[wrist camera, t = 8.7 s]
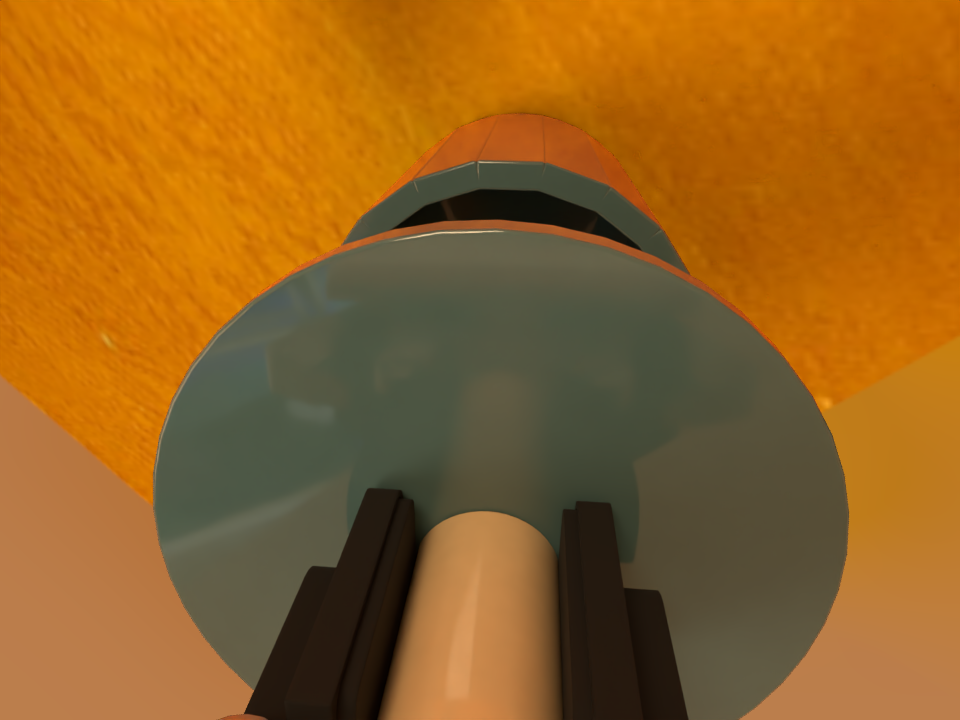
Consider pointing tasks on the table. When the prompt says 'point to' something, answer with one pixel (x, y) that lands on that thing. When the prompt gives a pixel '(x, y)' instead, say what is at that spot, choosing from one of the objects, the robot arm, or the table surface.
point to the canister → (521, 185)
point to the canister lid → (505, 463)
